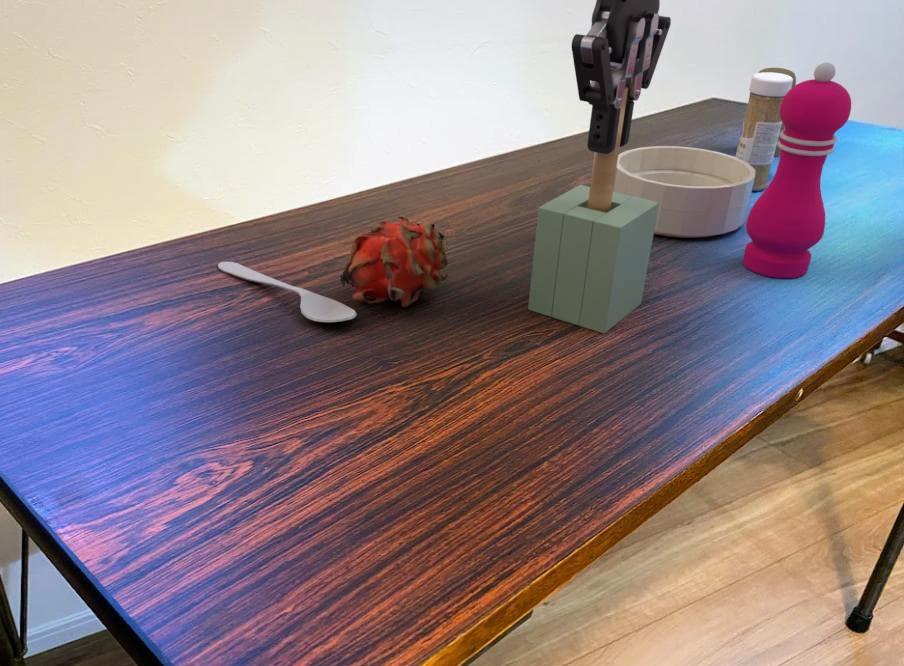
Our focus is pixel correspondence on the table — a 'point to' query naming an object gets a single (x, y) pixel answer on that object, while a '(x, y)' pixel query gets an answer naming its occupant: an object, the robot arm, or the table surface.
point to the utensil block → (591, 258)
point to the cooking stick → (606, 170)
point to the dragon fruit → (396, 262)
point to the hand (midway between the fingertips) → (607, 147)
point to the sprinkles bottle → (762, 123)
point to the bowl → (688, 188)
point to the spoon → (310, 302)
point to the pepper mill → (797, 179)
